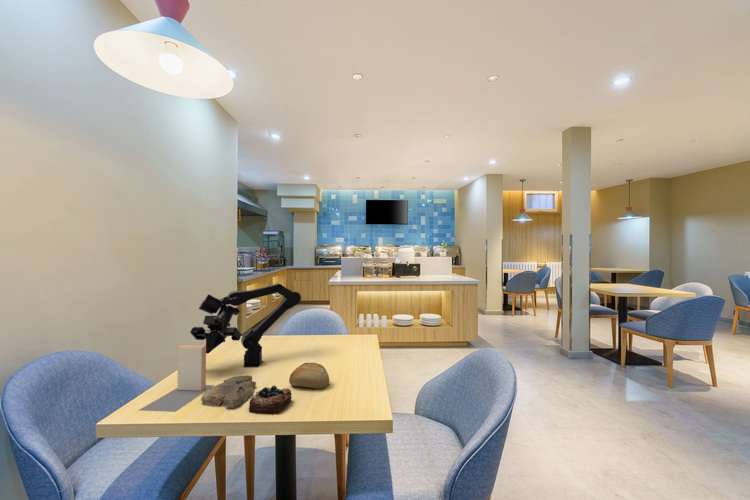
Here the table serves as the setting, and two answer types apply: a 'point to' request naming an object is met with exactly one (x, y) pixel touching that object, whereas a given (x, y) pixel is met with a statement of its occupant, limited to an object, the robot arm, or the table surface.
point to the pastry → (270, 400)
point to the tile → (191, 368)
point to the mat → (174, 400)
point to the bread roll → (310, 376)
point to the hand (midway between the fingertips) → (206, 353)
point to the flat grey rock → (229, 392)
